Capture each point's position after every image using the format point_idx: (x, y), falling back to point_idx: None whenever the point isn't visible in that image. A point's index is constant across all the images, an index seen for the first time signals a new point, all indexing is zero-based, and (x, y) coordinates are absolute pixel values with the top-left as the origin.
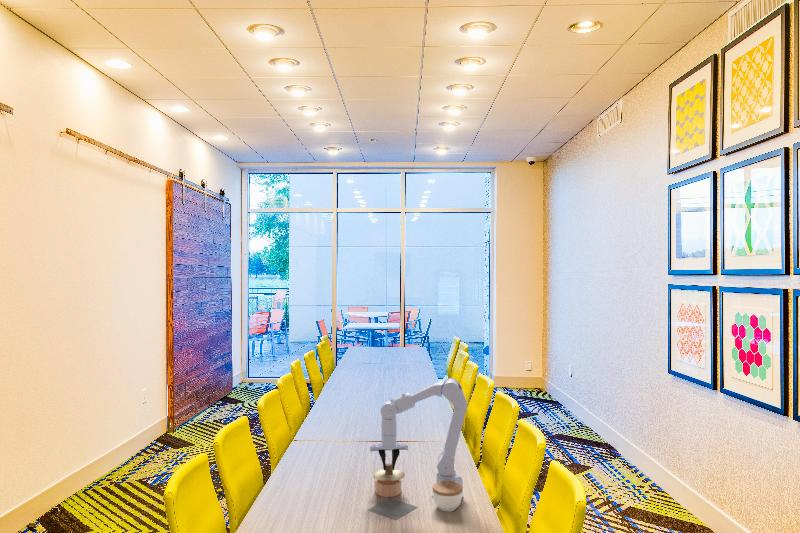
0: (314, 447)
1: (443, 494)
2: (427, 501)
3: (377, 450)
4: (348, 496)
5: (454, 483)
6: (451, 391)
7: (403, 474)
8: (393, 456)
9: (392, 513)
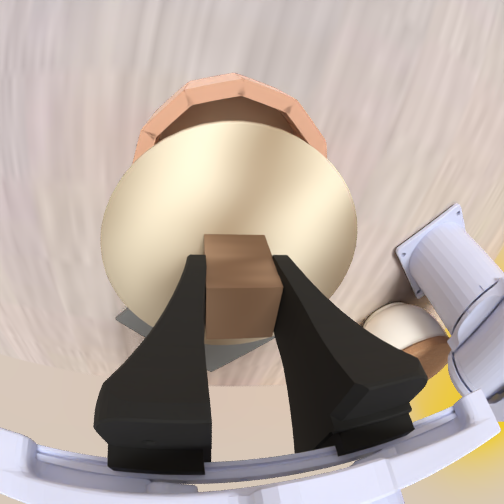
0: None
1: None
2: (363, 275)
3: (104, 466)
4: (19, 189)
5: (443, 359)
6: None
7: (334, 283)
8: (292, 424)
9: (206, 346)
